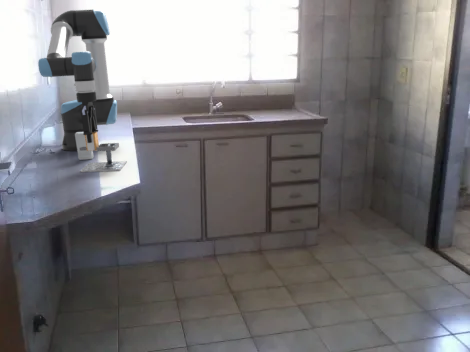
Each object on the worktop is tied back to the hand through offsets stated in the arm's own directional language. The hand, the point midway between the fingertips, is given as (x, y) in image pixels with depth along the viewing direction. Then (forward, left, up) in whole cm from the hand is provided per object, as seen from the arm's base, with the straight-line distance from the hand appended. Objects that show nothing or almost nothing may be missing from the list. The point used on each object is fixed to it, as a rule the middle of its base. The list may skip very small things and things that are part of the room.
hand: (93, 148), depth 202 cm
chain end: (0, +2, 0) cm, 2 cm away
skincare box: (-17, -9, -8) cm, 21 cm away
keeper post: (0, +4, -8) cm, 9 cm away
